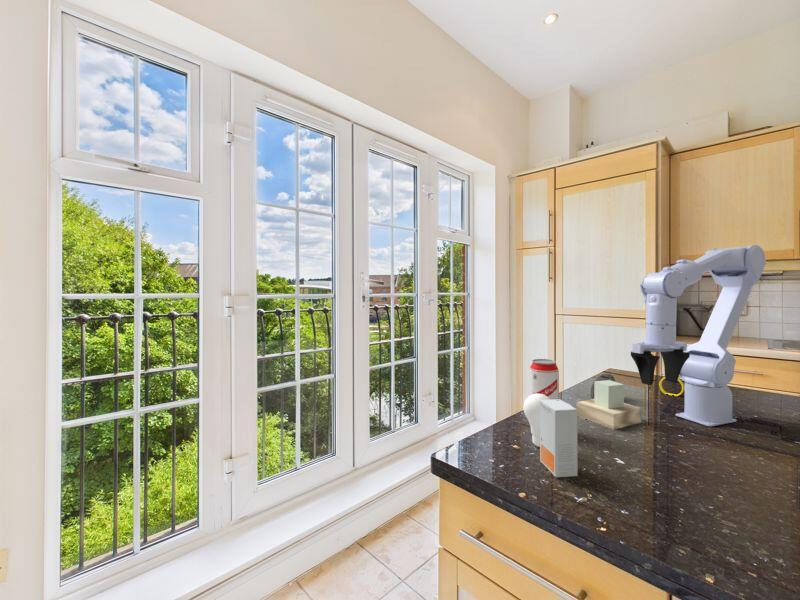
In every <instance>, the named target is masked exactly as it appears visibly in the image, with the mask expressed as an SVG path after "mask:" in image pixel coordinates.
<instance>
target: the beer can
mask: <svg viewBox="0 0 800 600" xmlns="http://www.w3.org/2000/svg"><path fill="white" fill-rule="evenodd" d="M559 374H560V372H559V367H558V366H557V361H556V360H553V359H547V358H536V359H533V360H532V363H531V365H530V367H529V396H530V395H532V394H543V395H545V396H547V397H548V398H550V399H551V400H553V399H560V393H559V392H560V390H559V387H560V386H559V385H560V379H559V378H560V375H559Z"/></svg>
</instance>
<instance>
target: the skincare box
mask: <svg viewBox="0 0 800 600" xmlns="http://www.w3.org/2000/svg"><path fill="white" fill-rule="evenodd" d="M539 461H540V463H542V464H543V466H544V467H545V468H546V469H547V470H548V471H549V472H550V473H551V474H552V476H554V477H555V478H567V477H568V478H569V477H578V466H579V465H578V417H577V408H576V407H574V406H572V405H571V404H570V403H568V402H565V401H564V400H562V399H560V398H559V399H553V400H540V447H539Z"/></svg>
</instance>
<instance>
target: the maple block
mask: <svg viewBox="0 0 800 600" xmlns="http://www.w3.org/2000/svg"><path fill="white" fill-rule="evenodd" d="M576 409H577V416H579V417H578V418H580V417H581V419H583V418H584V419H583V420H585V419H587V420H586V421H588V420H590V421H589V422H591V421H592V422H591V423H594V422H595V423H594V424H596V423H598V424H597V425H599V424H601V425H600V426H602V425H603V426H602V427H605V428H607V427H608V428H607V429H610V428H611V429H610V430H613V431H615V430H619V429H622V428H625V427H629V426H633V425H637V424H641V423H642V407H639V406H636V405H633V404H630V403H626V402H624V407H620V408H611V409H608V408H605V407H603V406H600V405H598V404H595V403H594V399H591V398H590V399H586V400H581V401H576ZM618 428H619V429H618Z"/></svg>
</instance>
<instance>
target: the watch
mask: <svg viewBox="0 0 800 600" xmlns="http://www.w3.org/2000/svg"><path fill="white" fill-rule="evenodd" d="M664 380H666V379H665V376H663V377H662V378H661V380H660V381H659V382H658V383H659V384H658V386H659V387H658V388H659V389H660V391H661V392H662V393H663V394H664V395H666V394H668V395H667V396H672V395H674V396H673V397H678V396H680V395H682V394H683V393H685V382H683V381H682V379H681V378H679V377H678V380H677V382H679V384H680V385H681V391H680V392H679V393H678V394H676V393H670V392H667V391H666V390H665V389H664V388H663V381H664Z"/></svg>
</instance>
